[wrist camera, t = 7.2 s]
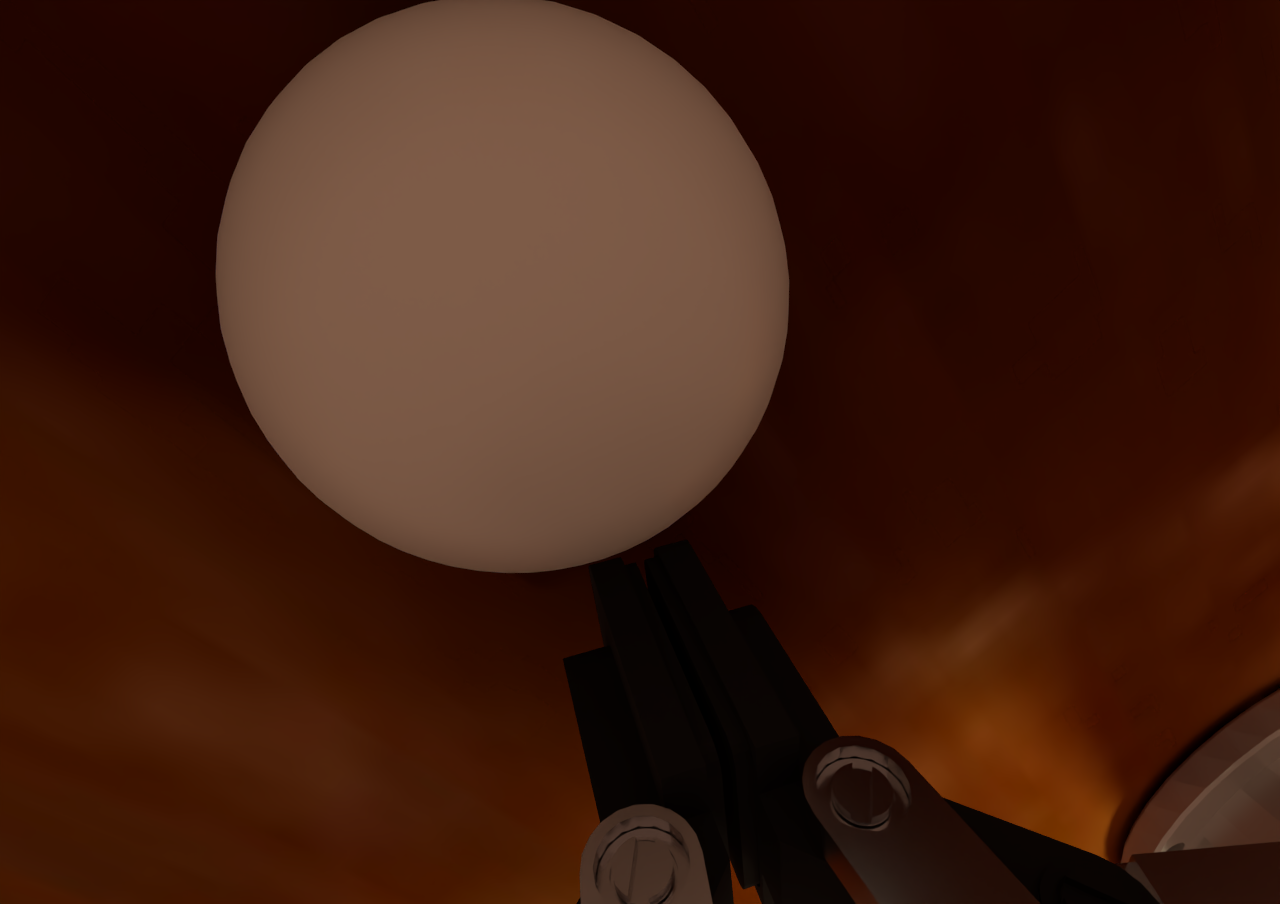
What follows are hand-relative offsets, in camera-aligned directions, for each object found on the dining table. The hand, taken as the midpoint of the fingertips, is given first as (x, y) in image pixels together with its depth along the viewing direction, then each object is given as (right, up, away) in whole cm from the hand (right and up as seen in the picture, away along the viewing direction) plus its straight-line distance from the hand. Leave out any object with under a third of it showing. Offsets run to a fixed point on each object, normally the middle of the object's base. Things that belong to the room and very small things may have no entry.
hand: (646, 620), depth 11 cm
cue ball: (-1, +4, -4) cm, 6 cm away
